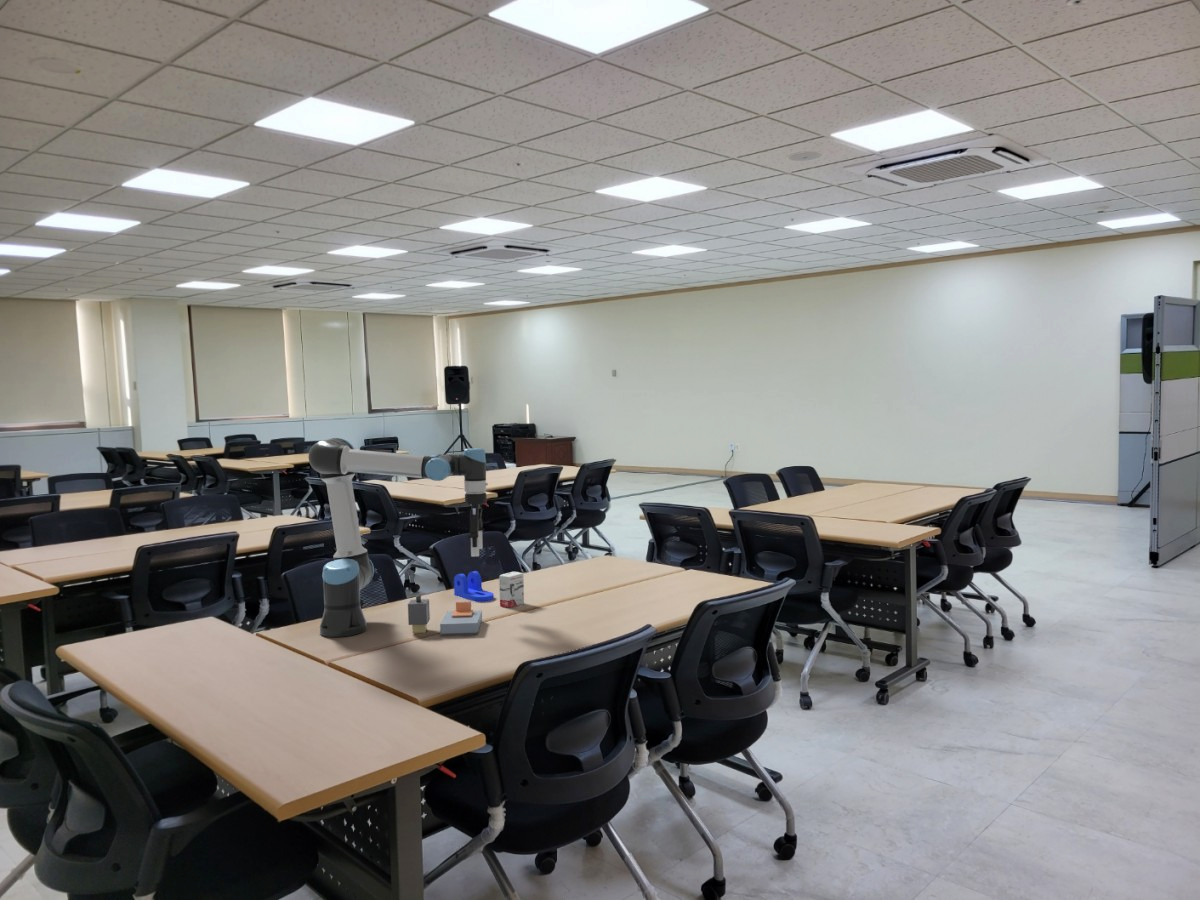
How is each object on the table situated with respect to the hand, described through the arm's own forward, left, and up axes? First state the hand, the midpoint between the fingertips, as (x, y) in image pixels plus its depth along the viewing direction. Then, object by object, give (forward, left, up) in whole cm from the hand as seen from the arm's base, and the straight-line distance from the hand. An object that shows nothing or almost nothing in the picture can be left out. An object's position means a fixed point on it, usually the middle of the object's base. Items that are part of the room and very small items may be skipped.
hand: (477, 552), depth 292 cm
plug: (-18, -15, -23) cm, 33 cm away
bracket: (-4, +31, -24) cm, 39 cm away
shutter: (-4, -11, -19) cm, 22 cm away
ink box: (+11, +16, -24) cm, 31 cm away
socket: (-4, -14, -23) cm, 27 cm away
